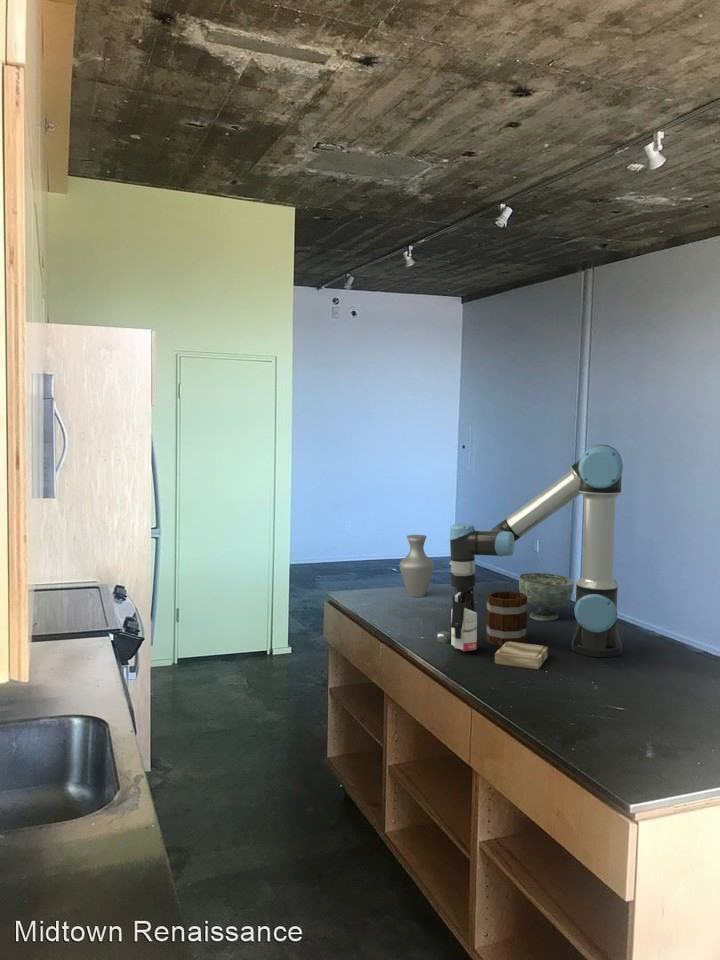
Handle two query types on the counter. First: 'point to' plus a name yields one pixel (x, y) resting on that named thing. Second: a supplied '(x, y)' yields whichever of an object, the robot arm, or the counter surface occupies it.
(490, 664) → the counter surface
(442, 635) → the silver metal dome
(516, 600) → the mug
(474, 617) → the ink box
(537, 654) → the stand
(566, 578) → the bowl
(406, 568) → the vase
